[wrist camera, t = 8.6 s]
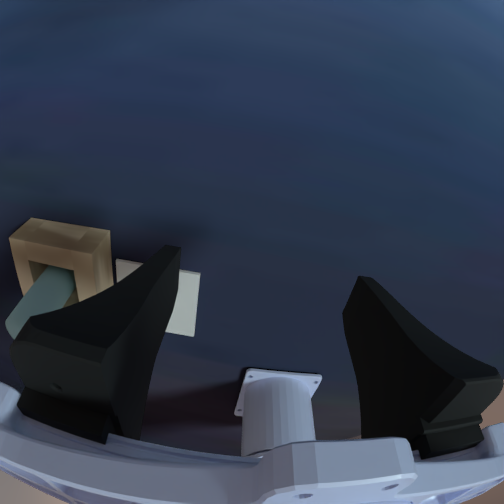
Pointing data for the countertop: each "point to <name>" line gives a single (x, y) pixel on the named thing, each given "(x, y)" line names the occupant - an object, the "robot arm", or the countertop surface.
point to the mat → (185, 299)
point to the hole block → (63, 255)
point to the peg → (42, 297)
